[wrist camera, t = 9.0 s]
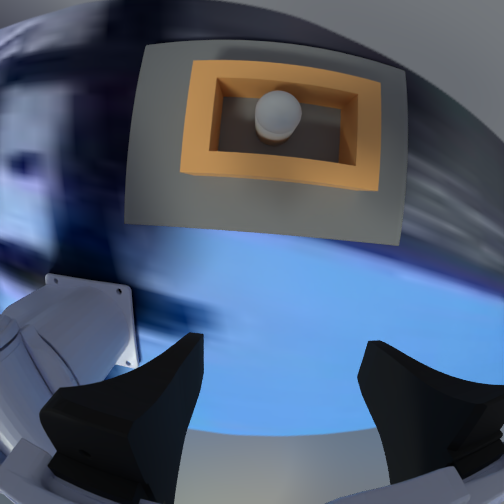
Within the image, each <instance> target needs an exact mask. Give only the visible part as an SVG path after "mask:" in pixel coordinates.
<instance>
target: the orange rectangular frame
mask: <svg viewBox="0 0 504 504" xmlns="http://www.w3.org/2000/svg"><path fill="white" fill-rule="evenodd" d="M277 90H278V91H285V92H288V93H290V94H291V95H293V96H294V97H295V98H296V99H297V100H298V102H299V103H305V104H312V105H319V106H325V107H331V108H336V109H341V120H340V144H339V161H338V163H334V162H327V161H320V160H312V159H304V158H296V157H287V156H277V155H266V154H254V153H239V152H220V151H218V146H219V135H220V125H221V115H222V106H223V97H243V98H259V99H260V98H261V97H262V96H263V95H265V94H266V93H268V92H271V91H277ZM380 154H381V83H380V82H376V81H372V80H369V79H365V78H361V77H357V76H353V75H348V74H344V73H339V72H334V71H329V70H324V69H318V68H312V67H306V66H299V65H291V64H282V63H272V62H260V61H242V60H195V61H193V65H192V71H191V78H190V85H189V91H188V99H187V106H186V114H185V123H184V132H183V142H182V152H181V164H180V172H181V173H185V174H190V175H195V176H218V177H235V178H249V179H262V180H274V181H284V182H294V183H303V184H312V185H320V186H328V187H335V188H343V189H350V190H356V191H378V186H379V172H380Z"/></svg>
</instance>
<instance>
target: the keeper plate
mask: <svg viewBox="0 0 504 504" xmlns="http://www.w3.org/2000/svg"><path fill="white" fill-rule="evenodd" d="M195 60H242V61H260V62H272V63H282V64H291V65H299V66H306V67H312V68H318V69H324V70H329V71H334V72H339V73H344V74H348V75H353V76H357V77H361V78H365V79H369V80H372V81H376V82H380V83H381V154H380V172H379V186H378V191H356V190H350V189H343V188H335V187H328V186H320V185H312V184H303V183H294V182H284V181H274V180H262V179H249V178H235V177H218V176H195V175H190V174H185V173H181V172H180V164H181V152H182V142H183V132H184V123H185V114H186V106H187V99H188V91H189V85H190V78H191V71H192V65H193V61H195ZM340 120H341V109H336V108H331V107H325V106H319V105H312V104H305V103H299V102H298V100H297V99H296V98H295V97H294V96H293V95H291V94H290V93H288V92H285V91H278V90H277V91H271V92H268V93H266V94H265V95H263V96H262V97H261V98H260V99H259V98H243V97H223V106H222V115H221V125H220V135H219V146H218V151H220V152H239V153H254V154H266V155H277V156H287V157H296V158H304V159H312V160H320V161H327V162H334V163H338V161H339V144H340ZM407 158H408V107H407V88H406V76H405V71H403V70H401V69H398V68H395V67H392V66H389V65H386V64H382V63H379V62H376V61H372V60H369V59H365V58H361V57H357V56H353V55H349V54H345V53H340V52H336V51H331V50H326V49H320V48H315V47H309V46H302V45H295V44H287V43H277V42H266V41H251V40H197V41H181V42H170V43H161V44H153V45H146V48H145V52H144V56H143V60H142V65H141V69H140V74H139V79H138V84H137V90H136V95H135V101H134V108H133V114H132V121H131V129H130V138H129V147H128V157H127V169H126V185H125V211H124V224H137V225H154V226H171V227H186V228H201V229H216V230H229V231H243V232H255V233H268V234H280V235H292V236H303V237H314V238H325V239H336V240H347V241H357V242H367V243H377V244H386V245H396V246H399V241H400V235H401V227H402V220H403V211H404V202H405V191H406V177H407Z"/></svg>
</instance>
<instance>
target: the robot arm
mask: <svg viewBox="0 0 504 504" xmlns="http://www.w3.org/2000/svg"><path fill="white" fill-rule="evenodd" d="M56 279H57V280H58V282H57V280H56ZM45 280H46V285H45V286H43V287H42V288H40V289H38V290H36V291H34V292H32V293H31V294H29V295H27V296H25V297H23V298H22V299H20V300H18V301H16V302H15V303H13V304H11V305H10V306H8V307H7V308H6V309H5V310H4V312H3V313H2V314H0V493H1V494H4V495H5V496H6V497H7V498H9V499H10V500H11V501H12V502H13V503H14V504H174V499H175V491H176V484H177V478H178V471H179V466H180V460H181V454H182V449H183V444H184V439H185V435H186V432H187V428H188V425H189V423H190V420H191V417H192V414H193V411H194V408H195V405H196V402H197V399H198V396H199V393H200V389H201V384H202V379H203V374H204V334H199V333H191V332H189V333H188V334H187V335H185V336H184V337H183V338H181V339H180V340H179V341H178V342H176V343H175V344H174V345H173V346H171V347H170V348H169V349H167V350H166V351H165V352H163V353H162V354H160V355H159V356H157V357H156V358H154V359H153V360H151V361H150V362H148V363H146V364H144V365H142V366H141V367H138V366H139V358H138V350H137V343H136V335H135V326H134V315H133V304H132V291H131V288H130V287H129V286H127V285H122V284H115V283H108V282H101V281H94V280H87V279H81V278H75V277H69V276H63V275H57V274H51V273H49V274H47V275H46V276H45ZM118 288H119V289H121V291H122V293H120V292H119V290H118ZM128 361H129V362H130V363H129V362H128ZM115 364H117V365H121V366H126V367H130V368H136V369H134V370H132V371H130V372H128V373H125V374H122V375H120V376H117V377H114V378H111V379H108V380H104V379H105V377H106V376H107V374H108V373H109V372H110V370H111V369H112V368H113V366H114V365H115ZM357 379H358V383H359V386H360V390H361V393H362V396H363V398H364V400H365V403H366V405H367V407H368V409H369V412H370V414H371V416H372V418H373V420H374V423H375V425H376V427H377V429H378V432H379V434H380V437H381V441H382V444H383V448H384V452H385V456H386V461H387V465H388V471H389V478H390V484H391V485H388V486H385V487H381V488H376V489H372V490H368V491H363V492H359V493H356V494H352V495H348V496H344V497H340V498H338V499H335V500H333V501H330V502H328V503H325V504H501V503H502V502H503V501H504V442H502V441H501V440H500V438H501V437H502V436H503V433H502V432H501V431H500V429H501V427H502V426H503V424H504V385H490V384H482V383H476V382H471V381H466V380H463V379H459V378H456V377H452V376H449V375H447V374H444V373H442V372H439V371H437V370H434V369H432V368H430V367H428V366H426V365H424V364H422V363H420V362H418V361H417V360H415V359H413V358H411V357H409V356H408V355H406V354H404V353H403V352H401V351H399V350H397V349H396V348H394V347H392V346H390V345H388V344H387V343H385V342H382V341H380V340H379V341H368V343H367V347H366V350H365V353H364V357H363V360H362V363H361V366H360V369H359V373H358V376H357ZM103 380H104V381H103Z"/></svg>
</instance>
